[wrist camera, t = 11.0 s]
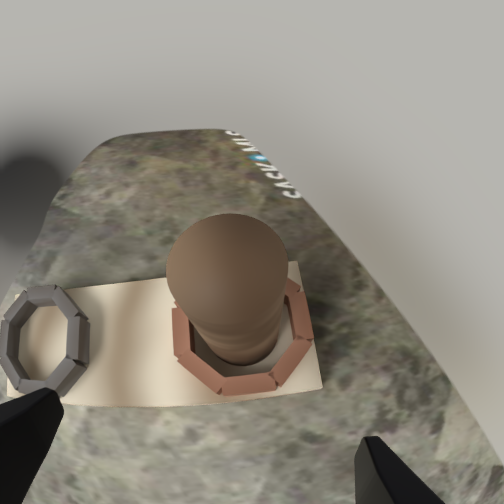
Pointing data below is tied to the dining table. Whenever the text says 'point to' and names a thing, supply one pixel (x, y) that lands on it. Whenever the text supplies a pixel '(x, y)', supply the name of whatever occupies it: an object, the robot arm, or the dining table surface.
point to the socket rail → (144, 349)
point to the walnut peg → (231, 285)
